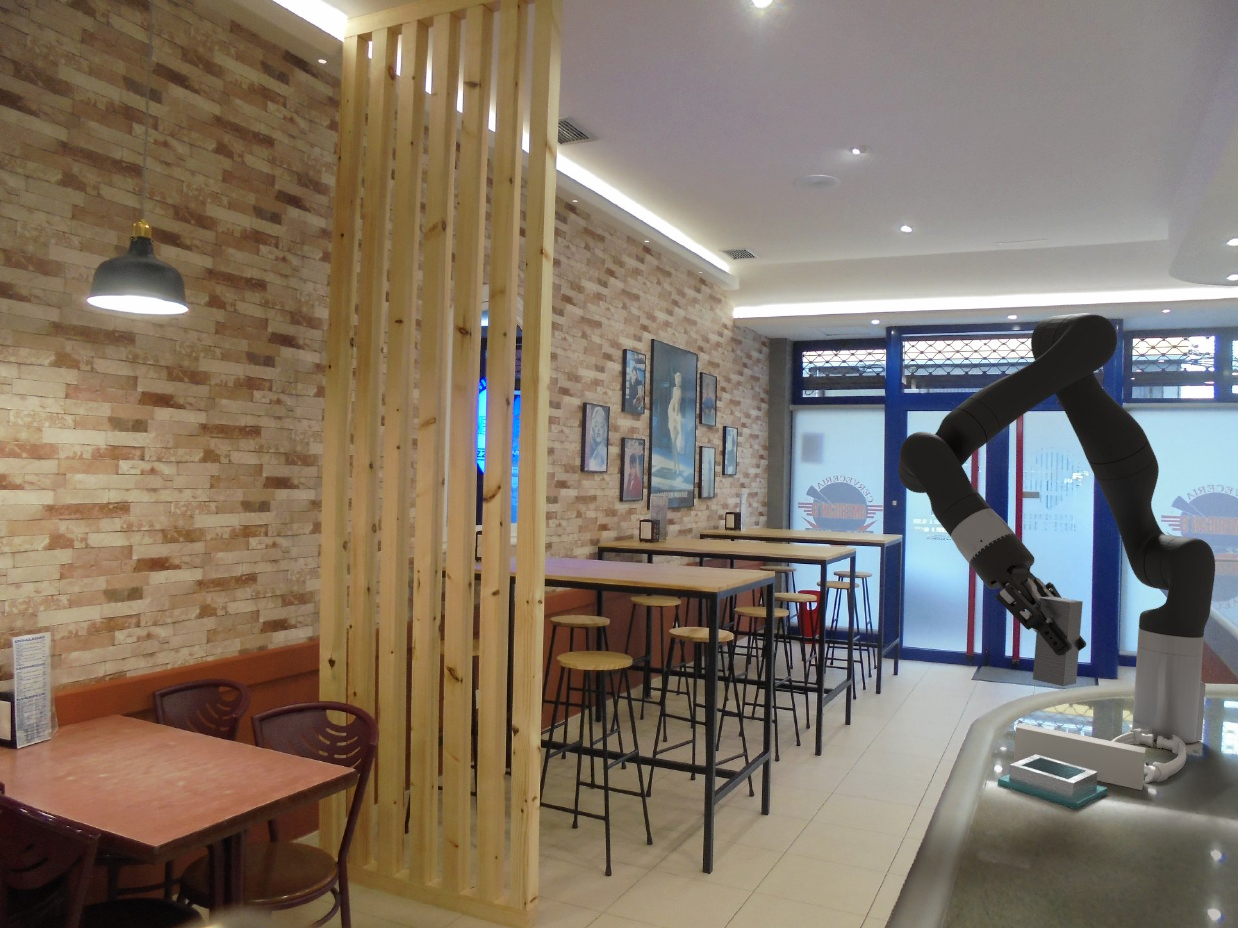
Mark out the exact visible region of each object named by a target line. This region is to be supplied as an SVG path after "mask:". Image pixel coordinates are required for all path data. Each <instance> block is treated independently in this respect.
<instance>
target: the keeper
mask: <svg viewBox="0 0 1238 928" xmlns="http://www.w3.org/2000/svg"><path fill="white" fill-rule="evenodd" d="M1097 775H1098V772H1097V771H1093V770H1090V769H1086V768H1083V767H1079V766H1076V765H1072V764H1069V763H1065V762H1061V761H1058V760H1054V759H1051V758H1047V757H1044V756H1040V755H1037V754H1036V755H1033V756H1030V757H1028V758H1025V759H1023V760H1020V761H1018V762H1013V763H1010V764H1009V774H1006V775H1004V776H1001V777H998V778H997V785H998V786H1001V787H1003V788H1008V789H1009V790H1014V791H1016V792H1020V793H1023V794H1026V795H1029V796H1032V797H1036V798H1038V799H1042V800H1045V801H1049V802H1051V803H1054V804H1058V805H1061V806H1064V807H1067V808H1070V809H1073V810H1076V811H1077V810H1079V809H1081V808H1083V807H1085V806H1087V805H1088V804H1091V803H1093V802H1094V801H1096V800H1099V799H1100V798H1102V797H1104V796H1106V795H1108V789H1109V787H1106V786H1102V785H1099V784H1098V780H1097Z"/></svg>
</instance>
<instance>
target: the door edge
mask: <svg viewBox="0 0 1238 928" xmlns="http://www.w3.org/2000/svg"><path fill="white" fill-rule="evenodd" d="M1146 750H1147V749H1146V747H1143V746H1139V745H1134V744H1132V745H1128V744H1123V743H1118V742H1113V741H1112V740H1107V739H1103V738H1102V739H1101V738H1096V737H1091V736H1087V735H1083V734H1076V733H1073V732H1066V731H1063V730H1062V731H1061V730H1057V729H1053V728H1052V729H1051V728H1048V727H1041V726H1037V725H1031V724H1027V723H1023V722H1019V723H1018V724H1017V725H1016V727H1015V736H1014V750H1013V751H1014V753H1013V763H1015V762H1018V761H1020V760H1023V759H1025V758H1028V757H1030V756H1033V755H1036V754H1037V755H1040V756H1044V757H1047V758H1051V759H1054V760H1058V761H1061V762H1065V763H1069V764H1072V765H1076V766H1079V767H1083V768H1086V769H1090V770H1093V771H1097V772H1098V775H1097V782H1103V783H1109V784H1112V785H1117V786H1120V787H1121V786H1123V787H1125V788H1130V789H1135V790H1140V791H1143V787H1144V783H1145V782H1144V780H1145V776H1144V767H1145V764H1146Z"/></svg>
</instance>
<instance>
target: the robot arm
mask: <svg viewBox="0 0 1238 928" xmlns="http://www.w3.org/2000/svg"><path fill="white" fill-rule="evenodd" d="M1030 339H1031V340H1030V346H1031V347H1030V348H1031V353H1032V356H1033V359H1034V360H1033V361H1031V362H1030V363H1028V364H1026V365H1025V366H1023V367H1022V368H1020V369H1018V370H1016V371H1014V372H1011V373H1010V374H1009V375H1007V376H1006V375H1005V376H1004V377H1001V378H1000V379H998V380H995V381H994V382H992V383H990V384H988V385H986V386H984V387H983V388H981V389H979V390H977V391H976V392H974V393H972V395H970V396H969V397H967V399H965V400H964V401H963V402H962V403H960V404H959V405H958V406H957V407H955V408H954V409H952V410H951V411H950V412H948V414H947V415H945V416H944V418H943V419H942V420H941V422H940V424H939V427H938V429H937V430H936V432H935V433H932V432H928V431H917V432H913V433H912V434H910V435H908V436H907V437H906V438H905V439H904V441H903V442H902V444H901V446H900V450H899V455H898V457H899V459H898V477H899V479H900V482H901V484H902V485H903V486H904V488H906V489H907V490H908V491H910V492H913V493H917V494H926V496H927V497H928V499H929V502H930V507H931V511H932V513H933V515H934V517H935V519H936V520H937V521H938V523H939V524H940V525H941V526H942V528H943V529H944V531H946V533H947V534H948V535H949V537H950V538H951V540H952V541H953V542H954V545H955V546H956V548H957V550H958V551H959V553H960V554H961V555H962V556H963V558H964V559H965V560H966V561H967V563H968V565H970V567H971V568H972V570H973V571H974V572H975V573H976V574H977V576H978V578H979V579H981V581H982V583H983V584H984V585H985V586H986V587H987V588H988V589H990V590H996V589H1001V590H1000V591H999V592H998V593H997V594H995V598H996V600H997V601H999V603H1000V604H1002V606H1003V607H1005V609H1006V610H1007V611H1008V612H1009V613H1010V614H1011V616H1013V617H1014V618H1015V620H1017V621H1018V622H1019V623H1020V625H1022V626H1023V627H1024V629H1026V630H1028V631H1030V630H1031V629H1032V630H1033V631H1034V632H1035V633H1039V632H1040V634H1041V636H1042V637H1043V638H1044V640H1045V641H1046V642H1047V643H1048V645H1049V646H1050V647H1051V648H1052V650H1053V651H1054V652H1055V654H1056V655H1058V656H1060V655H1063V654H1065V653H1066V652H1068V651H1069V650H1071V649H1072V645H1071V643H1070V642H1069V641H1068V640H1067V638H1066V637H1065V636H1064V635H1063V633H1062V632H1061V631H1060V630H1059V628H1058V627H1057V626H1056V625H1055V624H1052V625H1051V623H1053V621H1052V619H1051V618H1050V616H1049V615H1048V614H1047V612H1046V611H1045V610H1044V608H1045V604H1044V603H1043V602H1042V600H1041V599H1040V597H1058V598H1063V597H1062V596H1061V594H1060V592H1059V591H1058V589H1057V588H1056V586H1055V584H1054V583H1052V582H1050V581H1048V582H1047V583H1044V582H1043V581H1042V580H1041V578H1039V577H1036V576H1035V575H1034V574H1033V573H1032V572H1031V568H1032V567H1033V565H1034V564H1035V557H1034V556H1035V555H1033V554H1032V552H1031V551H1030V550H1029V549H1028V548H1027V547H1026V545H1025V544H1024V543H1023V541H1021V539H1020V538H1019V536H1018V535H1017V534H1016V533H1015V532H1014V531H1013V530H1012V528H1011V527H1010V526H1009V525H1008V523H1006V521H1005V520H1004V519H1003V518H1002V517H1001V516H1000V515H999V514H998V513H997V512H996V511H994V509H993V508H992V507H991V506H990V505H989V503H988V502H987V501H986V500H985V499H984V497H983V496H982V495H981V494H980V493H979V491H977V489H976V488H975V487H974V485H973V484H972V482H971V481H970V479H969V477H968V474H967V472H966V471H965V469H964V468H963V465H964V464H965V463H967V461H968V460H969V458H971V456H973V454H974V453H975V452H976V451H978V450H979V449H980V448H982V447H984V445H987V444H988V442H990V441H991V440H993V438H994V437H996V436H997V435H999V433H1001V432H1002V431H1003V430H1005V429H1006V428H1007V427H1009V426H1010V425H1011V424H1012V423H1014V422H1015V421H1016V420H1018V419H1019V418H1020V417H1022V416H1023V415H1025V414H1026V413H1028V412H1029V411H1031V410H1032V409H1033V408H1035V407H1036V406H1038V405H1039V404H1041V403H1043V402H1044V401H1045V400H1047V399H1049V398H1050V397H1052V396H1054V395H1055V397H1056V398H1057V400H1058V401H1059V403H1060V405H1061V407H1062V408H1063V411H1064V413H1065V415H1066V417H1067V419H1068V421H1069V423H1070V424H1071V425H1070V426H1071V427H1072V429H1073V431H1074V434H1075V436H1076V437H1077V440H1078V441H1079V444H1080V446H1081V448H1082V451H1083V453H1084V455H1085V458H1086V460H1087V462H1088V465H1089V467H1090V468H1091V471H1092V473H1093V474H1094V475H1093V476H1094V477H1095V478H1096V481H1097V482H1098V485H1099V486H1100V488H1101V491H1102V493H1103V496H1104V497H1105V500H1106V502H1107V504H1108V507H1109V510H1110V512H1111V514H1112V516H1113V518H1114V521H1115V523H1116V526H1117V529H1118V532H1119V534H1120V537H1121V541H1122V544H1123V548H1124V551H1125V554H1126V557H1127V559H1128V563H1129V565H1130V568H1131V570H1132V572H1133V574H1134V575H1135V577H1136V579H1137V580H1138V581H1139V582H1140V583H1142V584H1143V585H1144V586H1147V587H1149V588H1152V589H1156V590H1157V589H1158V590H1163V591H1168V592H1167V596H1166V600H1165V602H1164V603H1163V604H1162V605H1160V606H1158V607H1154V608H1150V609H1145V610H1143V611H1142V612H1141V613H1140V615H1139V617H1138V618H1139V620H1138V631H1137V632H1138V633H1137V649H1136V665H1135V676H1134V677H1135V679H1134V680H1135V681H1134V695H1133V708H1132V709H1133V710H1132V724H1131V725H1132V726H1131V730H1133V729H1142V730H1145V729H1148V730H1149V732H1148V733H1149V734H1153V735H1154V740H1157V738H1158V736H1162V737H1164V738H1166V739H1167V737H1170V739H1171V740H1173V739H1172V738H1173V737H1172V735H1175V736H1177V737H1179V738H1180V739H1181V740H1182V741H1183V742H1184V744H1194V743H1197V742H1198V741H1200V742H1201V741H1202V742H1203V732H1204V731H1203V729H1204V714H1205V702H1206V700H1205V699H1206V686H1207V685H1206V683H1205V682H1204V681H1202V667H1203V653H1204V652H1203V651H1204V650H1203V649H1204V638H1205V637H1204V636H1205V629H1206V625H1207V622H1208V620H1209V617H1210V615H1211V605H1212V598H1213V592H1214V584H1215V576H1216V575H1215V574H1216V560H1215V554H1214V552H1213V549H1212V547H1211V546H1210V544H1209V543H1208V542H1206V541H1204V540H1203V539H1200V538H1198V537H1197V538H1196V537H1190V536H1189V537H1188V536H1182V535H1181V536H1179V535H1172V534H1170V535H1169V534H1166V533H1164V532H1163V531H1162V529H1161V527H1160V526H1159V524H1158V522H1157V520H1156V516H1155V514H1154V511H1153V507H1152V501H1153V496H1154V494H1155V490H1156V487H1157V483H1158V478H1159V472H1160V470H1159V469H1160V468H1159V463H1158V459H1157V457H1156V454H1155V452H1154V450H1153V447H1152V445H1151V443H1150V440H1149V439H1148V436H1147V435H1146V432H1145V431H1144V429H1143V427H1142V426H1141V425H1140V423H1139V422H1138V420H1136V419H1135V418H1134V417H1133V415H1131V414H1130V413H1129V412H1128V411H1127V410H1126V409H1125V408H1124V407H1122V405H1120V404H1119V403H1118V402H1117V401H1116V400H1115V399H1114V398H1113V397H1112V396H1111V395H1110V394H1109V393H1108V392H1107V391H1106V389H1105V388H1104V387H1103V386H1102V385H1101V383H1100V382H1099V380H1098V379H1097V377H1096V374H1095V372H1096V371H1098V370H1100V369H1101V368H1103V366H1106V364H1108V362H1109V361H1110V360H1111V359H1112V357H1113V356H1114V354H1115V351H1116V349H1117V345H1118V335H1117V330H1116V328H1115V326H1114V325H1113V323H1112V322H1111V321H1110V320H1109V319H1108V318H1107V317H1105V316H1103V315H1100V314H1096V313H1087V312H1086V313H1085V312H1084V313H1073V314H1071V313H1070V314H1061V315H1059V314H1058V315H1055V316H1050V317H1046V318H1044V319H1042V320H1041V321H1039V322H1038V323H1037V324H1036V326H1034V329H1033V331H1032V333H1031V337H1030ZM1086 646H1087V642H1086V641H1085V639H1084V638H1083V637H1082V636H1081V635H1080V638H1079V652H1080V651H1082V650H1083V649H1084V648H1085V647H1086Z"/></svg>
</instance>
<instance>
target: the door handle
mask: <svg viewBox="0 0 1238 928" xmlns="http://www.w3.org/2000/svg"><path fill="white" fill-rule="evenodd" d="M1148 732H1149V730H1148V729H1145V730H1142V729H1133V730H1132V729H1131V730H1129V731H1128V732H1126V733H1123V734H1121V735H1119V736H1116V737H1115V738H1113V739H1112V740H1111V741H1113V742H1118V743H1123V744H1128V745H1131V744H1132V745H1136V744H1139V745H1140V744H1143V745H1146V746H1147V747H1150V746H1151V747H1150V748H1153V747H1154V743H1155V744H1156V749H1159V748H1160V750H1163V749H1165V750H1170V751H1172V753H1173V754H1177V756H1176V757H1175V758H1174V759H1172V760H1170V761H1168V762H1165V763H1163V762H1159V761H1154V762H1153V763H1152V765H1150V763H1149V762H1146V761H1145V767H1144V782H1143V783H1147V784H1148V783H1153V782H1157V783H1160V782H1165V781H1167V779H1168V778H1169V777H1172V776H1174V775H1175V774H1177V773H1178V772H1179V771H1181V769H1182V768H1183V767H1184V766H1185V763H1186V762H1187V746H1186V743H1184V742H1183V741H1182V740H1181V739H1180V738H1179V737H1177V736H1175V735H1172V737H1173V738H1172V739H1173V740H1171V739H1170V737H1167V739H1166V738H1164V737H1162V736H1158V738H1157V739H1154V735H1153V734H1149V733H1148ZM1162 748H1163V749H1162Z"/></svg>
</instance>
